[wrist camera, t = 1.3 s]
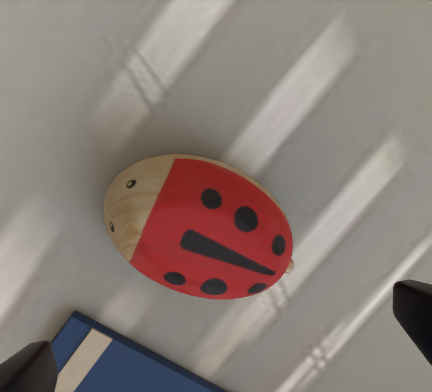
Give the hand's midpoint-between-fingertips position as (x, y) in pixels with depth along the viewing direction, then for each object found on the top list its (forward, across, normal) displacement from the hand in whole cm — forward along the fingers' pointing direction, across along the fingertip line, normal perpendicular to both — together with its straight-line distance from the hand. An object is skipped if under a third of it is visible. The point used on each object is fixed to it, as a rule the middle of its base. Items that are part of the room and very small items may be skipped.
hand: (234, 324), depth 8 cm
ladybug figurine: (+9, 0, 0) cm, 9 cm away
